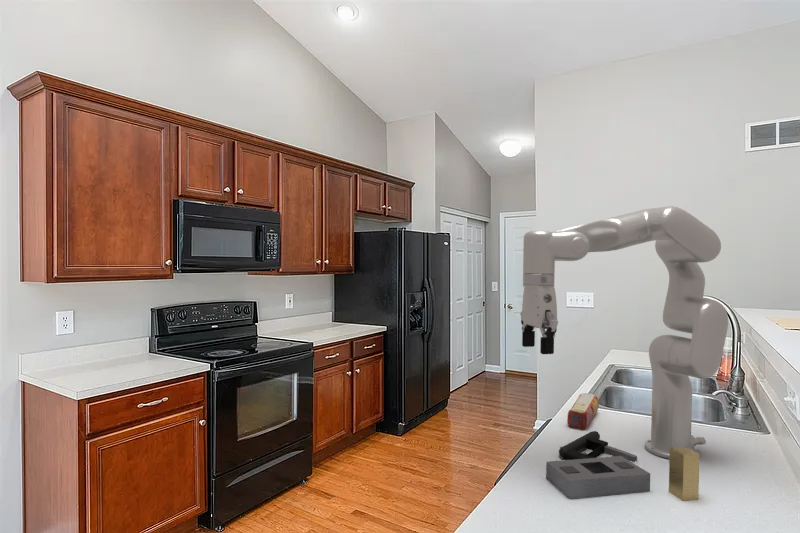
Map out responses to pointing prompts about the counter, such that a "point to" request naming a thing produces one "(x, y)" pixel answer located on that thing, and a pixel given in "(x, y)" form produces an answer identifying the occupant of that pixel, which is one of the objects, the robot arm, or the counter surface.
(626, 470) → the grey peg hole block
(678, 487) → the brass peg
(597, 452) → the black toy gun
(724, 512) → the counter surface
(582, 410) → the snack package
